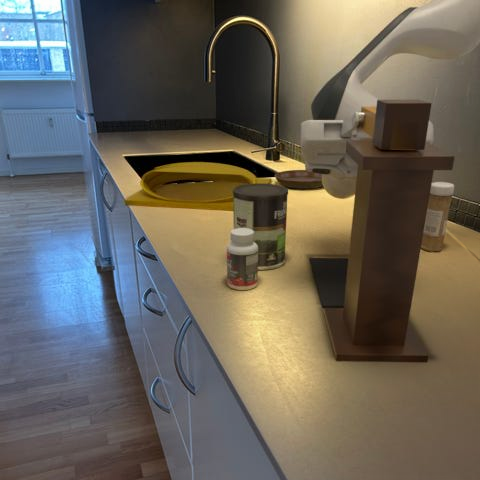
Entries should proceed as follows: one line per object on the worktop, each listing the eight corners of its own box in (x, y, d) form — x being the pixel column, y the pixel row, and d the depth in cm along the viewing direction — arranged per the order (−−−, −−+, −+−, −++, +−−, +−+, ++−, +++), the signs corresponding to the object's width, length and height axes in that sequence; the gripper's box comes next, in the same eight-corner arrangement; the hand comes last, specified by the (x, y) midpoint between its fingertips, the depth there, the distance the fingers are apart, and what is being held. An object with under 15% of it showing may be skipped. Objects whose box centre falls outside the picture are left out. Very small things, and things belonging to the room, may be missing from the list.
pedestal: (400, 314, 80) (428, 139, 68) (427, 362, 67) (467, 158, 55) (323, 313, 80) (337, 139, 68) (336, 360, 68) (356, 157, 56)
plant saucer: (262, 184, 161) (262, 174, 160) (299, 176, 172) (300, 166, 170) (305, 193, 149) (306, 183, 148) (342, 184, 160) (343, 174, 159)
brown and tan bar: (386, 128, 77) (390, 91, 74) (424, 149, 59) (431, 102, 56) (352, 128, 77) (355, 91, 74) (380, 149, 59) (386, 103, 57)
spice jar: (447, 250, 106) (459, 184, 100) (430, 253, 104) (442, 187, 98) (431, 243, 110) (442, 180, 103) (414, 246, 108) (425, 182, 102)
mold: (167, 178, 169) (165, 149, 165) (271, 182, 163) (272, 152, 159) (125, 204, 139) (121, 169, 135) (251, 211, 132) (251, 175, 128)
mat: (370, 259, 101) (370, 258, 101) (397, 308, 81) (398, 306, 81) (309, 259, 101) (309, 257, 101) (322, 307, 82) (322, 305, 82)
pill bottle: (220, 285, 90) (219, 231, 85) (241, 276, 94) (241, 224, 89) (243, 293, 87) (244, 238, 82) (263, 284, 90) (265, 230, 86)
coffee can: (291, 255, 103) (294, 185, 97) (276, 273, 95) (279, 197, 88) (243, 249, 107) (243, 181, 100) (225, 266, 98) (224, 192, 92)
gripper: (418, 171, 86) (449, 138, 72) (296, 171, 86) (304, 138, 73) (418, 134, 86) (449, 94, 72) (296, 134, 87) (304, 95, 73)
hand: (375, 116), depth 72 cm, fingers closed on brown and tan bar, 3 cm apart
